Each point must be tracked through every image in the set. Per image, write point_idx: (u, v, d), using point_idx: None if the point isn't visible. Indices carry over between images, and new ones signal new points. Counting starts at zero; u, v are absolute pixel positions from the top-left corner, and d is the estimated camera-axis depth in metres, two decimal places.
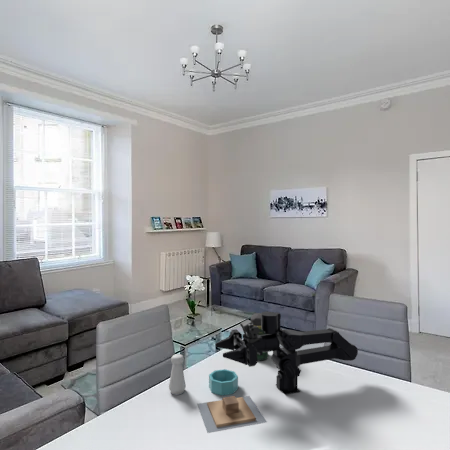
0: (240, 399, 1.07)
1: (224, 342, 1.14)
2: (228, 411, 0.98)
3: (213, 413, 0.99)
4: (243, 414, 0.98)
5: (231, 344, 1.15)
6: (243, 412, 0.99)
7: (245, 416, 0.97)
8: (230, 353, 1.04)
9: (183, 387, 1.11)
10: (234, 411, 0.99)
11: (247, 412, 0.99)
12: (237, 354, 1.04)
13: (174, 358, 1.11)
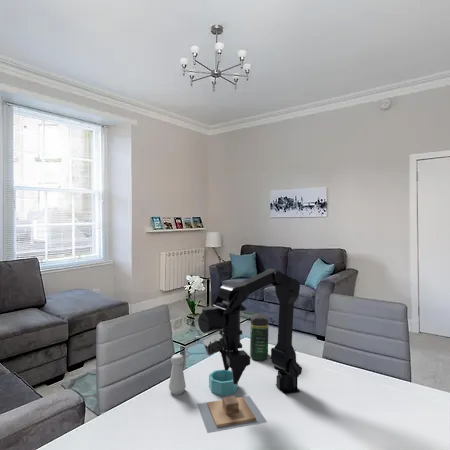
0: (240, 399, 1.07)
1: (225, 359, 1.05)
2: (228, 411, 0.98)
3: (213, 413, 0.99)
4: (243, 414, 0.98)
5: (228, 351, 1.05)
6: (243, 412, 0.99)
7: (245, 416, 0.97)
8: (234, 377, 0.95)
9: (183, 387, 1.11)
10: (234, 411, 0.99)
11: (247, 412, 0.99)
12: (236, 370, 0.95)
13: (174, 358, 1.11)
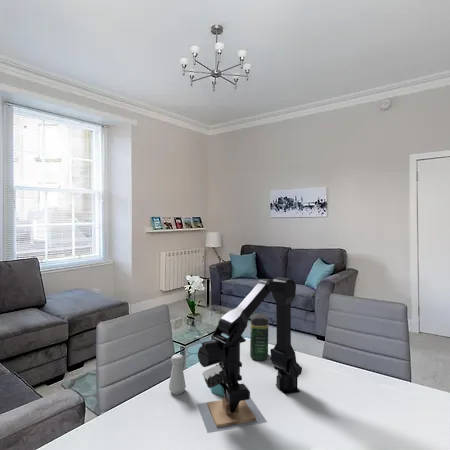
0: None
1: None
2: (228, 411, 0.98)
3: (213, 413, 0.99)
4: (243, 414, 0.98)
5: None
6: (243, 412, 0.99)
7: (245, 416, 0.97)
8: (231, 406, 0.97)
9: (183, 387, 1.11)
10: None
11: (247, 412, 0.99)
12: None
13: (174, 358, 1.11)
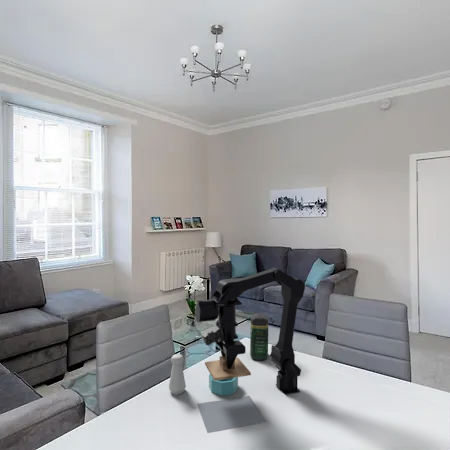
0: (235, 359, 1.14)
1: (224, 353, 1.10)
2: (225, 367, 1.05)
3: (211, 370, 1.06)
4: (239, 370, 1.05)
5: None
6: (239, 368, 1.06)
7: (241, 371, 1.04)
8: (228, 362, 1.05)
9: (183, 387, 1.11)
10: None
11: (242, 368, 1.06)
12: (230, 356, 1.04)
13: (174, 358, 1.11)
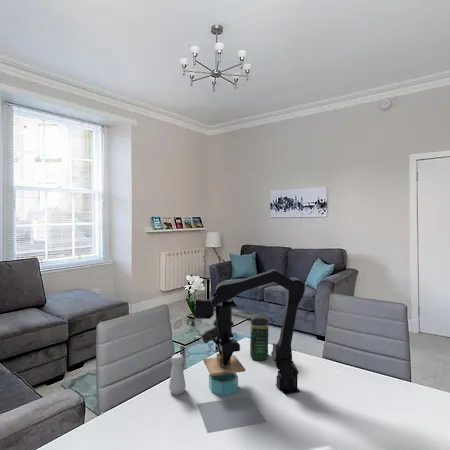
0: (232, 356, 1.22)
1: (221, 350, 1.18)
2: (221, 364, 1.13)
3: (208, 366, 1.13)
4: (234, 366, 1.13)
5: None
6: (234, 365, 1.14)
7: (236, 368, 1.12)
8: (224, 359, 1.12)
9: (183, 387, 1.11)
10: None
11: (238, 365, 1.14)
12: (226, 353, 1.12)
13: (174, 358, 1.11)
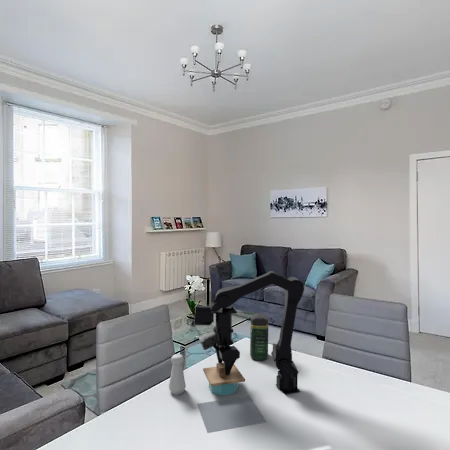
0: None
1: (219, 354, 1.20)
2: (221, 374, 1.13)
3: (208, 376, 1.13)
4: (234, 376, 1.13)
5: (221, 347, 1.20)
6: (234, 375, 1.14)
7: (236, 378, 1.12)
8: (226, 369, 1.10)
9: (183, 387, 1.11)
10: None
11: (238, 375, 1.14)
12: (227, 363, 1.10)
13: (174, 358, 1.11)
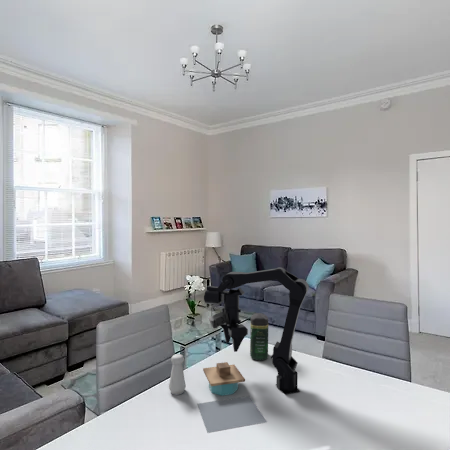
0: (232, 365, 1.22)
1: (226, 334, 1.28)
2: (221, 374, 1.13)
3: (208, 376, 1.13)
4: (234, 376, 1.13)
5: (229, 327, 1.28)
6: (234, 375, 1.14)
7: (236, 378, 1.12)
8: (234, 346, 1.18)
9: (183, 387, 1.11)
10: (226, 374, 1.14)
11: (238, 375, 1.14)
12: (236, 340, 1.18)
13: (174, 358, 1.11)
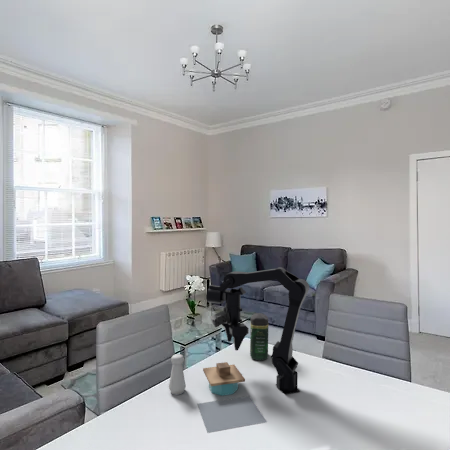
0: (232, 365, 1.22)
1: (228, 332, 1.29)
2: (221, 374, 1.13)
3: (208, 376, 1.13)
4: (234, 376, 1.13)
5: (230, 326, 1.30)
6: (234, 375, 1.14)
7: (236, 378, 1.12)
8: (235, 345, 1.19)
9: (183, 387, 1.11)
10: (226, 374, 1.14)
11: (237, 375, 1.14)
12: (237, 339, 1.19)
13: (174, 358, 1.11)
